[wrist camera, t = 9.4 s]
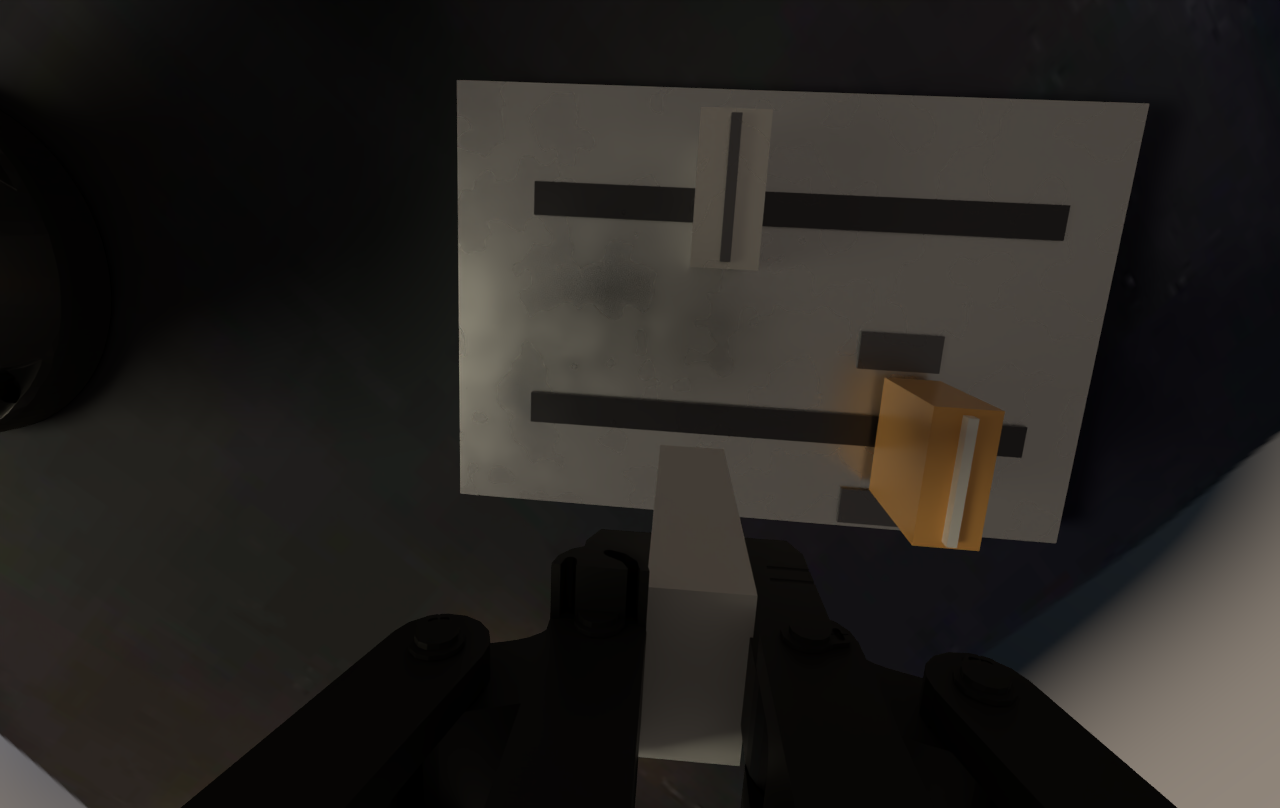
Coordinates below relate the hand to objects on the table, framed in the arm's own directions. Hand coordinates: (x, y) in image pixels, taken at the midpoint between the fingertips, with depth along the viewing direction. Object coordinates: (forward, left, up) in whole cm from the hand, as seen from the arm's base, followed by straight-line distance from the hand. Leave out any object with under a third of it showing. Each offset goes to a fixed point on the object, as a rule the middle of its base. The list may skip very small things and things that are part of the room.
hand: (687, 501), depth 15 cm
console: (+3, +4, -12) cm, 13 cm away
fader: (+8, 0, -10) cm, 12 cm away
